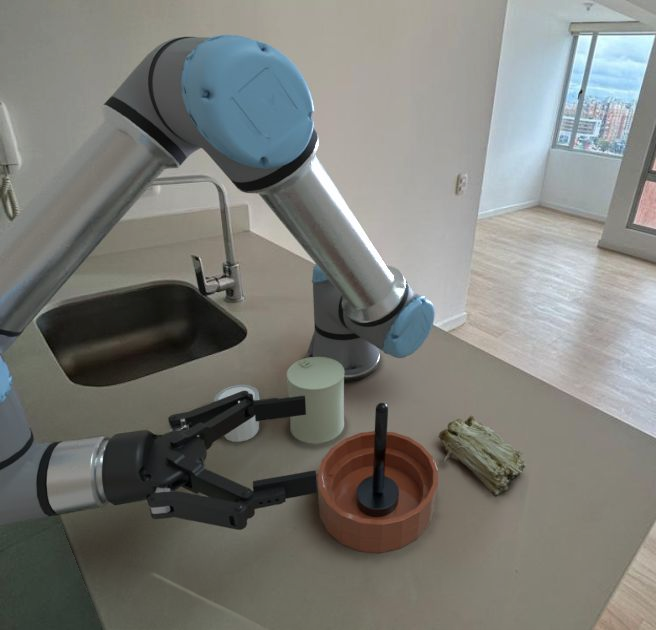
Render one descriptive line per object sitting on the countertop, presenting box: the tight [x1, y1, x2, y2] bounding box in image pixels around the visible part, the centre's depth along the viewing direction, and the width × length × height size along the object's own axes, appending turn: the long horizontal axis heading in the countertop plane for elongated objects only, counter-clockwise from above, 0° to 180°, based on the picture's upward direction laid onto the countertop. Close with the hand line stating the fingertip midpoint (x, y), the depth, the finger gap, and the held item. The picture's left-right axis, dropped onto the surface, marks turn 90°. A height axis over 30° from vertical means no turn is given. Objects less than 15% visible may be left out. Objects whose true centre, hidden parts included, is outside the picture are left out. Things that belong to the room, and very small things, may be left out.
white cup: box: [213, 384, 260, 443], centre depth 73 cm, size 7×7×7 cm
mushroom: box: [438, 415, 527, 496], centre depth 71 cm, size 14×10×5 cm, turn 42°
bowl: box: [316, 430, 439, 554], centre depth 63 cm, size 16×16×6 cm
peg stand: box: [356, 402, 399, 517], centre depth 60 cm, size 6×6×17 cm
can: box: [286, 357, 345, 444], centre depth 74 cm, size 9×9×12 cm
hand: (310, 439), depth 55 cm, fingers open, 13 cm apart
